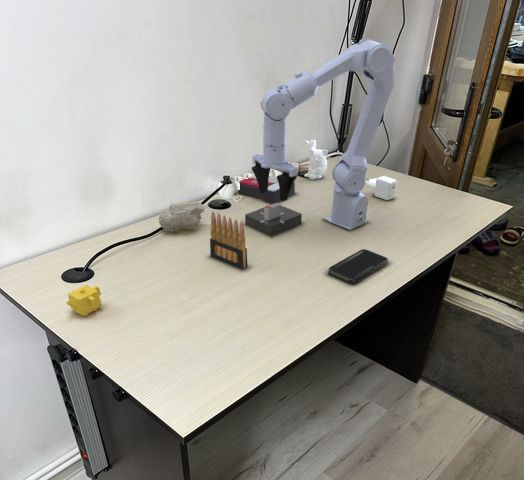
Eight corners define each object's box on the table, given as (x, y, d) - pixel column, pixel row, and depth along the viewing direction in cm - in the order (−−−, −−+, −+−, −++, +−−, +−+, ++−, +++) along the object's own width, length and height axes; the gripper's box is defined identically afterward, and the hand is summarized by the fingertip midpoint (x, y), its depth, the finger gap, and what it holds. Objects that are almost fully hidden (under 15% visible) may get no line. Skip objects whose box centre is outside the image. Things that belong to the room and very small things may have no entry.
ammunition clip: (247, 267, 121) (247, 220, 114) (242, 270, 120) (242, 223, 112) (215, 254, 126) (212, 209, 119) (210, 256, 125) (207, 211, 117)
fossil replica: (154, 228, 138) (174, 244, 132) (150, 201, 132) (171, 216, 127) (190, 214, 143) (211, 228, 138) (187, 187, 137) (209, 200, 132)
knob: (275, 214, 138) (276, 201, 136) (280, 216, 137) (280, 203, 135) (263, 219, 136) (264, 206, 133) (268, 221, 135) (268, 208, 132)
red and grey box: (258, 171, 163) (295, 179, 155) (258, 184, 165) (295, 193, 158) (236, 180, 156) (273, 190, 148) (237, 194, 159) (274, 204, 151)
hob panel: (303, 224, 140) (303, 214, 138) (271, 238, 133) (272, 227, 131) (275, 212, 146) (275, 202, 144) (244, 225, 140) (243, 214, 138)
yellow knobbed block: (80, 324, 102) (75, 303, 99) (64, 314, 105) (57, 294, 101) (112, 307, 107) (107, 287, 104) (95, 298, 110) (90, 278, 106)
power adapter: (358, 192, 159) (360, 173, 156) (367, 188, 162) (369, 170, 158) (387, 202, 153) (390, 183, 150) (396, 197, 156) (399, 179, 152)
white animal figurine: (298, 177, 170) (300, 140, 162) (310, 172, 174) (312, 136, 166) (318, 183, 165) (321, 145, 158) (330, 178, 169) (333, 141, 162)
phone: (326, 269, 118) (363, 248, 126) (326, 273, 119) (363, 252, 127) (353, 281, 114) (390, 258, 122) (352, 285, 114) (389, 262, 123)
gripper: (243, 140, 127) (244, 192, 135) (284, 154, 119) (282, 208, 127) (263, 135, 130) (263, 186, 139) (304, 147, 122) (301, 201, 131)
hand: (273, 196), depth 133 cm, fingers open, 7 cm apart
